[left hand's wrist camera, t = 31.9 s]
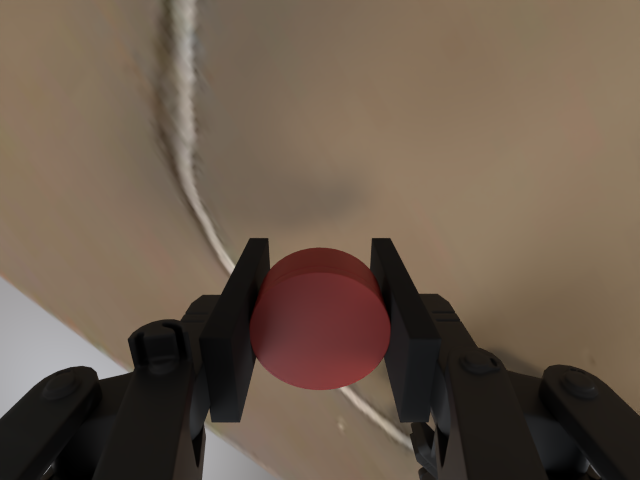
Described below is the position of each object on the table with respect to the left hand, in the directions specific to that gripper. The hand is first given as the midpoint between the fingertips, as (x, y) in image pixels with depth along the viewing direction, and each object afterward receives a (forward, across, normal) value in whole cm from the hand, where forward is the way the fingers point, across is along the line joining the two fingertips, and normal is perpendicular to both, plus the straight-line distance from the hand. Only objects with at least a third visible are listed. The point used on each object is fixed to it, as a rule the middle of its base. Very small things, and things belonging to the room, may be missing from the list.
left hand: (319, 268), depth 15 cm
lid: (-4, 0, 0) cm, 4 cm away
